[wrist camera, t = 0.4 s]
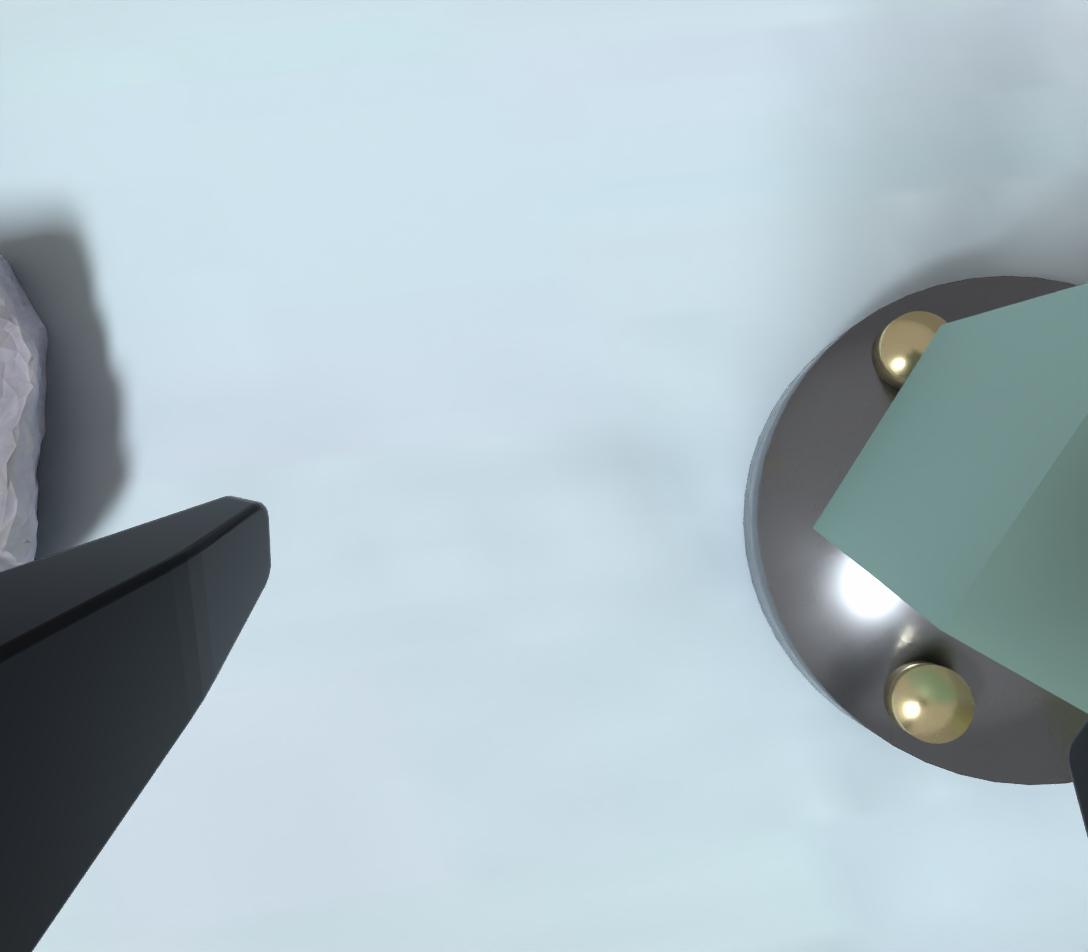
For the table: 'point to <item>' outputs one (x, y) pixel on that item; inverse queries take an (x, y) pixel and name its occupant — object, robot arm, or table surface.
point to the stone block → (20, 418)
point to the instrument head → (986, 490)
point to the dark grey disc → (860, 599)
